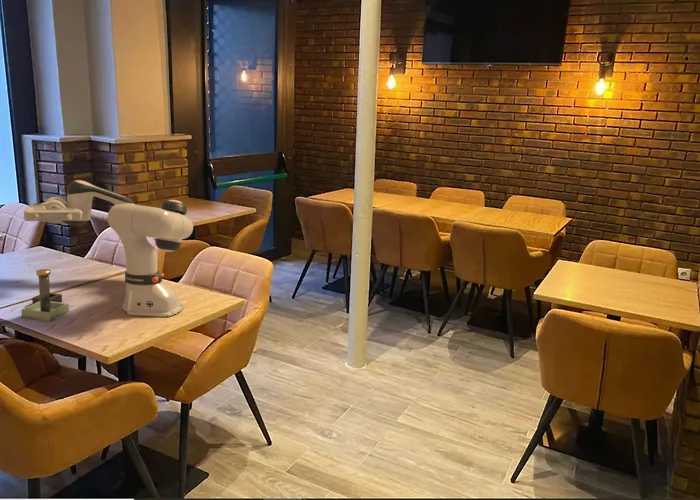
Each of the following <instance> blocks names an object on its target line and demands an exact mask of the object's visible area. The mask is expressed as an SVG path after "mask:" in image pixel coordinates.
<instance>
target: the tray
mask: <svg viewBox="0 0 700 500" xmlns="http://www.w3.org/2000/svg"><path fill="white" fill-rule="evenodd" d="M50 305H51V311H50V312H43V311H41V309H40V301H39V302H37V303H35V304H33V303H32V304H31V305H28V306H27V307H24V308H23V309H21V319H28V320H35V321H44V322H52V321H54V320H56V319H57V318H60V317H61V316H64V315H65V314H67V313H69V312H70V308H69V307H70V305H69V303H67V302H66V303H65V302H61V303H59V302H51V301H50Z"/></svg>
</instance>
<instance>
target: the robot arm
mask: <svg viewBox="0 0 700 500" xmlns="http://www.w3.org/2000/svg"><path fill="white" fill-rule="evenodd" d="M66 187H67V188H66V190H67V191H66V194H67V195H66V201H65V199H63V198H62V197H59V196H51V197H49V198H47V199H46V201H45V202H38V203H32V204H29V207H26V208H25V210H24V211H23V219H24V221H26V222H44V223H49V224H59V223H61V222H62V223H64V224H67V225H71V226H82V225H85V224H86V223H88V222H89V221H91V217H92V216H91V215H92V206H93V205H92V204H93V200H94V199H93V198H94V197H96V198H99V199H102V200H105V201H107V202H110V203H112V204H114V205H113V206H112V207H111V208H110V209H109V210H108V212H107V223H108V226H109V227H110V228H111V229H112V231H114V232H115V234H116V235H117V236H118V238H119V240H120V242H121V244H122V247H123V249H124V254H125V272H124V284H125V294H124V300H123V304H122V306H121V308H122V310H123V311H124V312H126V313H127V314H126V315H128V316H142V317H143V316H144V317H160V318H164V317H165V318H169V316H170V317H173V316H175V315H174V314H176V315H177V313H178V312H179V313H181V312H182V311H183V310H184V309H185V307H184V306H185V303H184V302H181V301H179V297H178V296H179V295H178V293H177V291H176V290H175V289H173V288H172V286H171V287H170V286H169V285H168V284H167V283H166V282H164V281H163V277H164V276H165V273H164V272H162V273H160V272H159V270H158V251H157V249H156V248H155V246H156V247H157V248H158V249H159V250H161V251H163V252H166V253H171V252H176V251H180V248H181V246H182V240H184V239H187V238H189V237H190V236H191V235H192V234H193V230H194V224H193V221H192V220H191V219H190V218H189V217H187V214H188V210H187V206H186V203H183V202H182V201H180V200H177V199H169V200H165V201H163V203H162V205H161V207H155V206H154V207H153V206H148V205H140V204H135V203H134V200H133V199H131V198H130V197H129V196H128V197H127V196H125V195H123V194H120V193H117V192H115V191H112V190H110V189H106V188H102V187H100V186H97V185H96V184H92V183H90V182H88V181H85V180H82V179H81V180H80V179H77V180H76V179H74V180H73V181H71V182H70V183H69V184H68V185H67V186H66ZM148 238H153V241H154V242H155V246H153V245H152V244H151V243H150V242H149V241H148ZM183 308H184V309H183ZM182 309H183V310H182ZM181 310H182V311H181ZM180 311H181V312H180ZM179 313H178V314H179ZM172 315H173V316H172ZM167 316H168V317H167Z"/></svg>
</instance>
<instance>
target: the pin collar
mask: <svg viewBox="0 0 700 500" xmlns="http://www.w3.org/2000/svg"><path fill="white" fill-rule="evenodd" d="M39 301H40V294H38V295H36V296H33V297H32V298H31V303H32V305H33V304H35V303H37V302H39ZM50 301H51V302H59V303H63V294H61V293H56V292H55V293H54V292H50Z"/></svg>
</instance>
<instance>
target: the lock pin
mask: <svg viewBox="0 0 700 500" xmlns="http://www.w3.org/2000/svg"><path fill="white" fill-rule="evenodd" d="M51 272H52V271H51V269H47V268H41V269H37V270H36V276H38V289H39V291H38V292H39V295H40V309H41V311H43V312H50V311H51V305H50V293H51V291H50V275H51V274H52V273H51Z"/></svg>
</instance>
